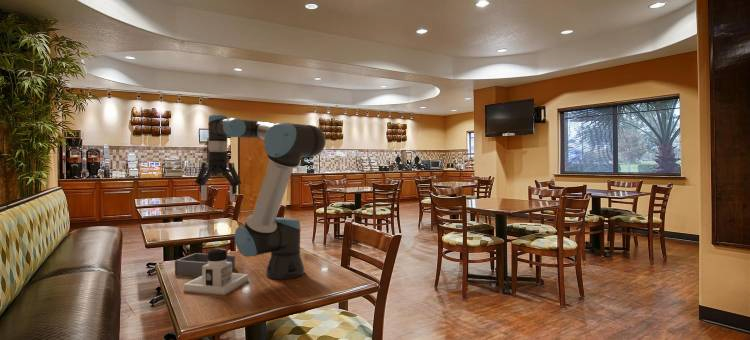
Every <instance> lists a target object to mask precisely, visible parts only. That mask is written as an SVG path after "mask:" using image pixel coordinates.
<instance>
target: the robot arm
mask: <svg viewBox="0 0 750 340" xmlns="http://www.w3.org/2000/svg"><path fill="white" fill-rule="evenodd" d="M207 125H208V126H207V127H208V151H209V152H208V162H206V161H205V162H204V161H203V162H202V163H201V168H200V170H199V173H198V175H197V177H196V180H195V182H194V183H195V184H197V185H199V193H200V195H201V196H200V197H201V199H200V200H201V201H207V200H208V194H207V193H208V192H207V189H208V188H207V187H208V185H207V184H206V183H207V182H208V181H209V179H210V178H211V177H212V176H213V174H221V175H223V176H224V177H225V178H226V180H227V181H228V183H229V184H230V186H229V202H230V203H231V202H232V203H233V202H236V194H237V192H238V190H237V189H238V186H240V185H242V181H241V180H240V177H239V175H238V173H237V169H236V168H235V163H234V162H229V163H228V152H227V151H228V138H243V139H244V138H245V139H248V138H249V139H258V140H263V143H264V145H263V147H264V150H265V152H266V157H267V158H268V160H269V162H268V165H267V168H266V172H265V173H264V174H265V175H264V178H263V181H262V184H261V186H260V189H259V193H258V196H257V199H256V202H255V205H254V208H253V210H252V214H250V215H248V216H247V217H246V220H245V223H244V225H240V226H238V227H237V228H236V229H235V232H234V241H235V245H236V248H237V250H238V252H239V253H240V254H241V255H242V256H244V257H248V258H249V257H256V256H260V255H264V254H268V253H270V258H269V261H268V264H267V267H266V277H268V278H269V279H273V280H289V279H297V278H300V277H302V276H304V274H305V266H304V263H303V260H302V256H301V222H300V221H299V219H297V218H291V217H282V216H281V217H279V216H278V213H279V210H280V208H281V205H282V203H283V199H284V196H285V193H286V190H287V187H288V185H289V181H290V179H291V175H292V173H293V170H294V169H296V168H297V167H298V166H300V162H301V160H302V158H310V157H315V156H317V155H319V154H320V153H322V152H323V151H324V148H325V147H326V136H325V133H324V132H323V130H322V129H320V127H317V126H315V125H312V124H300V123H291V122H278V123H273V122H272V123H271V122H268V121H264V120H249V119H240V118H238V117H237V118H234V117H230V118H228V116H227V115H225V114H210V115H209V116H208V123H207ZM208 168H209V169H208ZM277 216H278V217H277Z"/></svg>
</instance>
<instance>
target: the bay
mask: <svg viewBox="0 0 750 340" xmlns="http://www.w3.org/2000/svg"><path fill="white" fill-rule="evenodd" d="M226 262H232V270H235V269H236V255H229V254H227V261H226ZM206 264H208V253H201V252H194V253H193V254H188V255H187V256H184V257H180V258H179V259H176V260H174V275H182V276H195V277H200V276H202V266H204V265H206Z"/></svg>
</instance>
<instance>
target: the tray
mask: <svg viewBox="0 0 750 340" xmlns="http://www.w3.org/2000/svg"><path fill="white" fill-rule="evenodd" d="M248 282H249V274H247V273H237V272H236V273H235V272H232V282H231V283H229V284H228V285H226V286H224V287H220V286H209V285H202V276H197V277H196V278H194V279H192V280H189V281H188V282H186V283H185V282H184V284H183V292H186V293H195V294H196V293H197V294H204V295H205V294H206V295H217V296H218V295H219V296H226V295H227V294H229V293H231V292H233V291H234V290H236V289H237V288H239V287H241V286H242V285H244V284H246V283H248Z"/></svg>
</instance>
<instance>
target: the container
mask: <svg viewBox="0 0 750 340" xmlns="http://www.w3.org/2000/svg"><path fill="white" fill-rule="evenodd" d="M207 254H208V264H206V265H204V266H202V285H209V286H220V287H224V286H226V285H228V284H229V283H231V282H232V273H233V269H232V262H226V261H227V255H228V251H227V249H226V248H211V249H210V250H209V251H207Z"/></svg>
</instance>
